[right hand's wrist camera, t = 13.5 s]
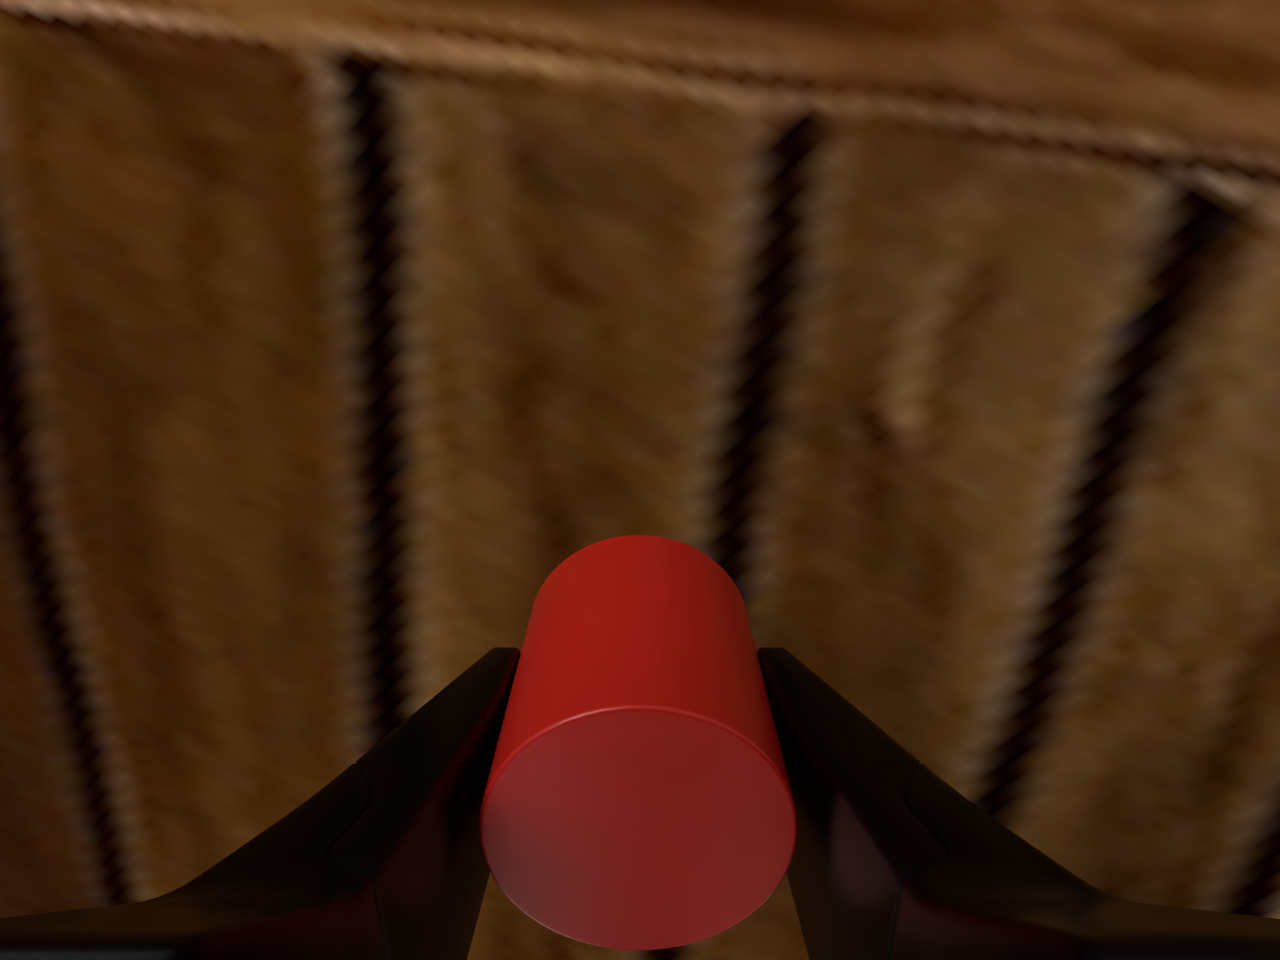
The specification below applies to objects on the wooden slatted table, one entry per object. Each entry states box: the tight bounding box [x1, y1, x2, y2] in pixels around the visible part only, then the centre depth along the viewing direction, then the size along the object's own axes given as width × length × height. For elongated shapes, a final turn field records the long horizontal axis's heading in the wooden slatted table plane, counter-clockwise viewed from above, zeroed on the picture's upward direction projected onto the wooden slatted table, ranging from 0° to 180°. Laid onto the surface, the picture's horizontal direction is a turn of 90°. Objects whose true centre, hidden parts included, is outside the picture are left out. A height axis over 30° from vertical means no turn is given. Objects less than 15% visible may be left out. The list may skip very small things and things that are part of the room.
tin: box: [479, 535, 798, 950], centre depth 11 cm, size 4×4×4 cm
